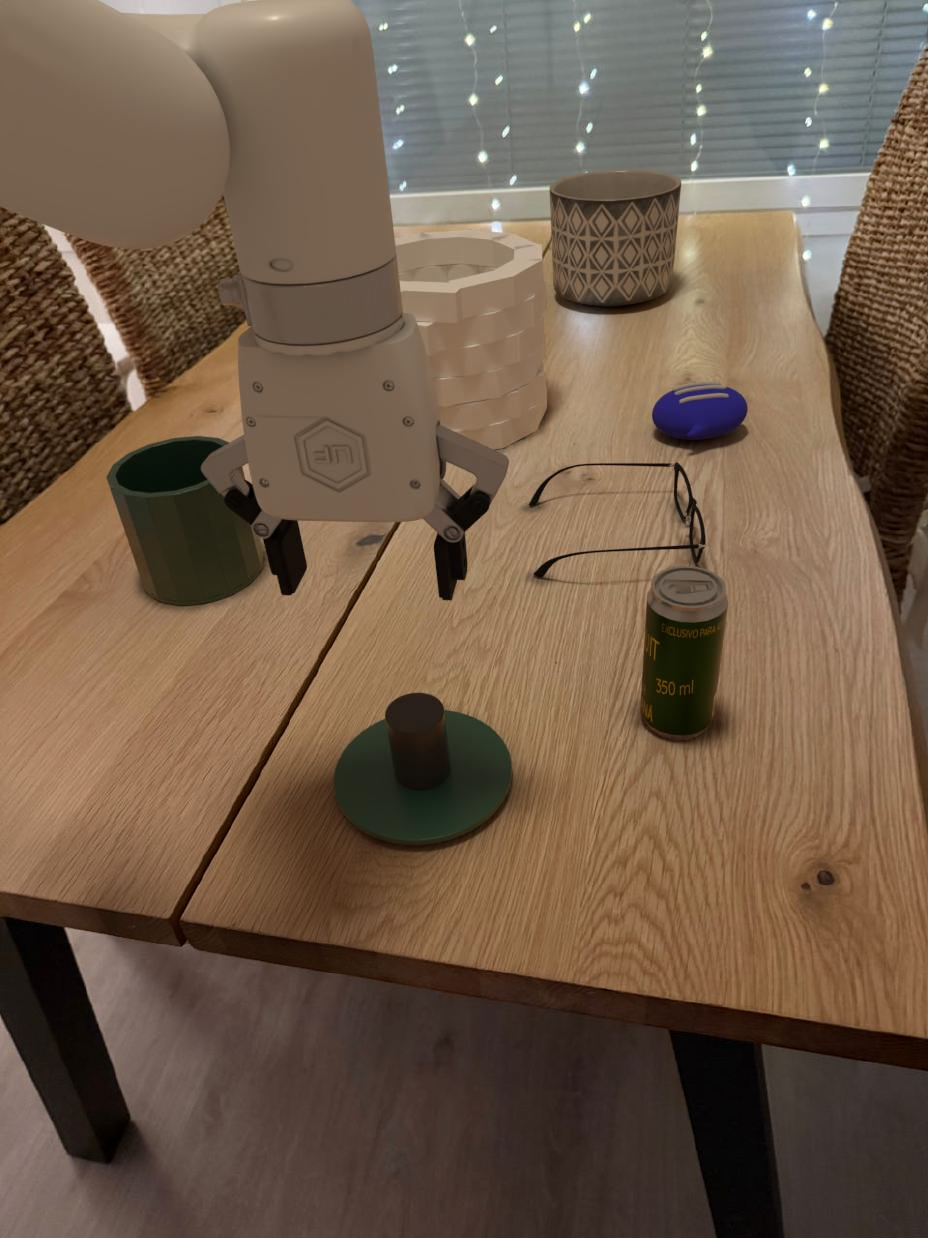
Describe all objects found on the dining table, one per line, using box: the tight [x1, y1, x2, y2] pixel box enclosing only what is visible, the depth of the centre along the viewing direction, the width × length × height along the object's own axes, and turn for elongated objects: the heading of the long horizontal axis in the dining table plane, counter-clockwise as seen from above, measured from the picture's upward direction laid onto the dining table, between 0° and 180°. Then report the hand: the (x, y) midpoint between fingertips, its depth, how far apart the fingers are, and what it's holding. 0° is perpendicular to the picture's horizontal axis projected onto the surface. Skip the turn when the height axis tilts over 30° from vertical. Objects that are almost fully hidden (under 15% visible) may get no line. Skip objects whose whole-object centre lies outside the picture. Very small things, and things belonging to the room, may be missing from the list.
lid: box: [333, 692, 513, 846], centre depth 64 cm, size 13×13×7 cm
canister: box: [106, 435, 265, 606], centre depth 86 cm, size 12×12×12 cm
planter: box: [549, 168, 682, 308], centre depth 141 cm, size 19×19×16 cm
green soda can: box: [639, 565, 729, 741], centre depth 65 cm, size 5×5×12 cm
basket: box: [395, 229, 548, 451], centre depth 109 cm, size 25×24×19 cm
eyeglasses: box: [528, 461, 707, 578], centre depth 88 cm, size 16×16×4 cm
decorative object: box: [651, 380, 749, 441], centre depth 103 cm, size 10×6×10 cm
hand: (371, 584), depth 56 cm, fingers open, 9 cm apart
